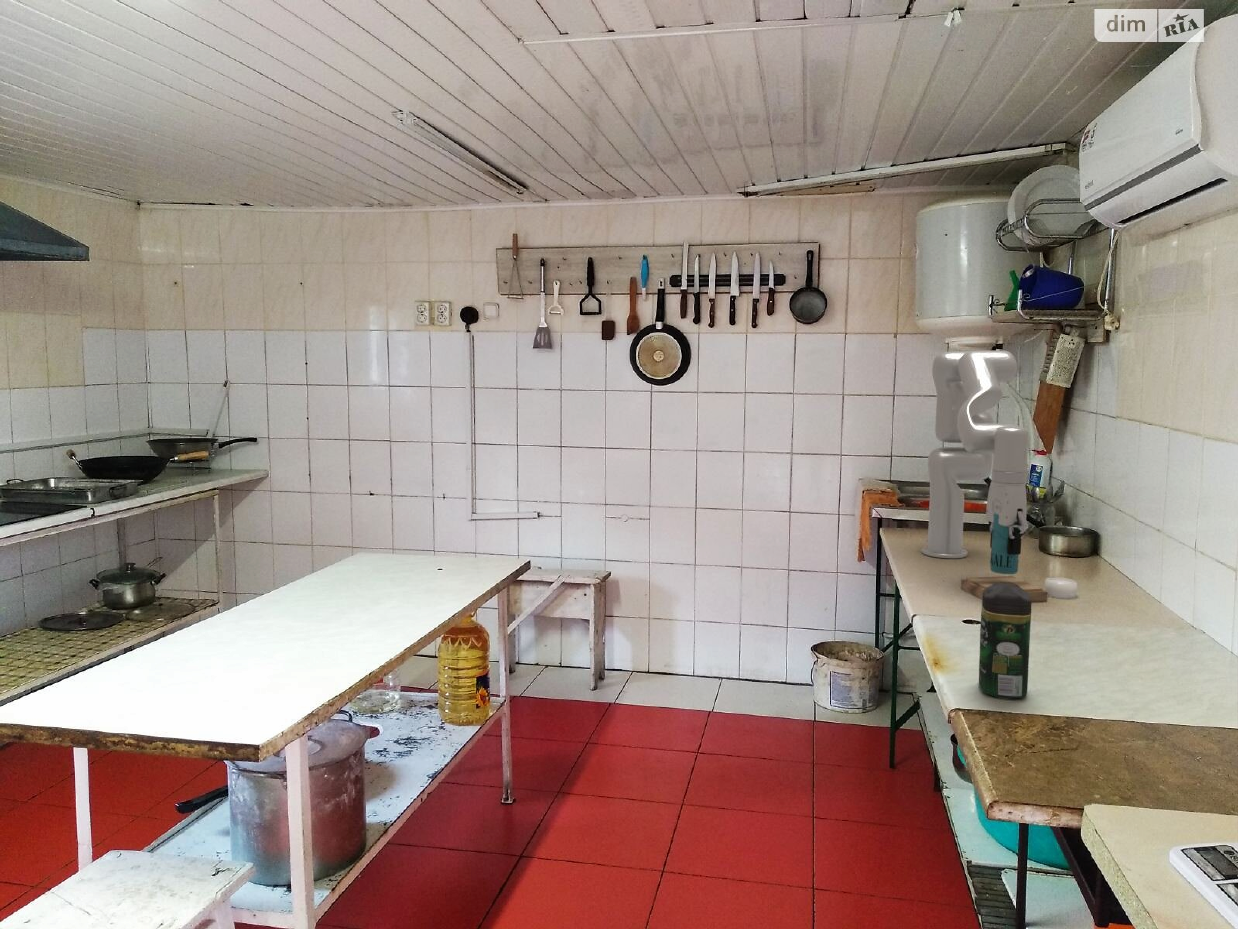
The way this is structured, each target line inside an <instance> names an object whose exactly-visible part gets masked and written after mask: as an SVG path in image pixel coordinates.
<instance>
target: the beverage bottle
mask: <svg viewBox="0 0 1238 929" xmlns="http://www.w3.org/2000/svg"><path fill="white" fill-rule="evenodd" d="M993 516H994V520H993V524H992V526H993V528H992V536H991V535H990V538H991V537H992V547H991V548H990V549H991V550H990V559H989V560H990V562H989V563H990V564H989V565H990V566H989V568H990V571H991V572H992V573H996V574H1002V575H1015V574H1018V571H1019V561H1020V559H1019V557H1020V554H1019V555H1008V554H1007V544H1008V538H1010V536H1009V530H1008V527H1004V526H1001V525H1000V524H998V523H999V515H998V514H997V513H996V514H993ZM1017 524H1018V523H1016V522H1014V524H1013V525H1017ZM1016 529H1017V528H1013V530H1014V531H1015V530H1016Z"/></svg>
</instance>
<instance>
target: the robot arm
mask: <svg viewBox="0 0 1238 929" xmlns="http://www.w3.org/2000/svg"><path fill="white" fill-rule="evenodd" d="M931 370H932V371H931V372H932V379H933V382H934V387H935V391H936V405H935V406H936V408H935V426H934V427H935V429H934V430H935V437H936V439H937V440H938V441H939V442H943V443H949V444H951V443H952V444H962V447H961V446H960V447H959V446H944V447H938V448H935V449H932V451H930V453H929V454H928V457H927V467H928V477H929V504H928V505H929V506H928V508H929V509H928V511H929V512H928V528H927V529H928V533H927V537H925V539H924V540H925V542H927V546H924V547H922V548H921V552H922V554H923V555H926V556H929V557H933V558H940V559H941V558H942V559H963V558H966V557H968V551H967V550H966V549H963V536H964V534H963V533H964V517H965V516H964V515H965V514H964V513H965V494H964V491H963V490H962V489H961V487H960V486H959V485H958V484H957V481H981V480H982V481H984V480H986V479H988V477H990V475H991V481H990V485H989V490H988V494H987V499H986V500H987V501H986V511H985V518H986V520H987V521H988V525H989V532H990V545H989V547H990V549H991V547H992V537H991V536H992V528H993V526H992V524H993V520H994V516H993V514H996V513H997V514H998V515H999V523H998V524H1000V525H1001V526H1004V527H1008V530H1009V536H1010V538H1008V544H1007V554H1008V555H1019V556H1020V554H1021V550H1022V539H1023V538H1024V534H1025V533H1026V531H1027V530H1028V528H1029V524H1028V521H1027V512H1028V511H1027V507H1028V506H1027V489H1026V487H1027V485H1026V484H1027V470H1028V466H1027V464H1028V452H1029V451H1028V450H1029V448H1028V447H1029V431H1028V429H1027V428H1025V427H1022V426H1020V425H1018V424H1015V423H998V422H994V418H993V416H992V415H991V413H990V412H988V410H991V409H993V408H994V407H996V406H997V405H998V404H999V403H1000V402H1001V401H1002V398H1003V395H1004V394H1003V393H1004V392H1003V390H1002V387H1001V384H1000V383H1010V382H1012V381H1013V380H1014V379H1015V377H1016V375H1017V371H1018V364H1017V360H1016V358H1015V356H1014V355H1013V354H1012V353H1011V352H1010V351H1008V350H953V351H951V350H950V351H944V352H940V353H938V354H937V355H936V356H935V357H934V359H933V361H932V369H931ZM1014 522H1016V523H1018V524H1017V525H1013V524H1014ZM1013 528H1017V529H1016V530H1015V531H1014V530H1013Z"/></svg>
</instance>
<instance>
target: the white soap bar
mask: <svg viewBox="0 0 1238 929" xmlns="http://www.w3.org/2000/svg"><path fill="white" fill-rule="evenodd" d="M1044 581H1045V582H1044V591H1047V592H1048V594H1047V595H1048V596H1047V597H1050V596H1052V597H1051V598H1053V597H1055V598H1054V599H1060V598H1061V599H1062V600H1073V599H1076V598H1077V591H1078V582H1077V581H1076V580H1074V579H1071V578H1067V577H1061V576H1060V577H1059V576H1053V577H1046V578H1045V580H1044ZM1075 597H1076V598H1075Z"/></svg>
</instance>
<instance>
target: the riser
mask: <svg viewBox="0 0 1238 929" xmlns="http://www.w3.org/2000/svg"><path fill="white" fill-rule="evenodd" d="M994 583H1002V584H1014V585H1018V586H1019V587H1020V588H1022V589H1024V590H1025V591H1026V592H1028V594H1029V595H1030V597H1031V600H1032V603H1036V602H1035V601H1040V602H1039V603H1042V602H1041V601H1047V602H1048V596H1047V594H1048V592H1047V591H1045V589H1043V587H1042V588H1041V587H1039V586H1037V585H1035V584H1032V583H1030V582H1027V581H1026V580H1022V579H1020V578H1017V577H1015V576H1013V575H1007V576H1005V575H1003V576H999V575H998V576H981V577H979V576H978V577H966V578H965V579H961V583H960V590H961V591H964V592H967V594H968V593H969V594H971V595H973V596H975V597H977V598H979V599H981V600H982V597H983V591H984V589H985V588H987V587H989V586H991V585H993V584H994Z"/></svg>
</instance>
